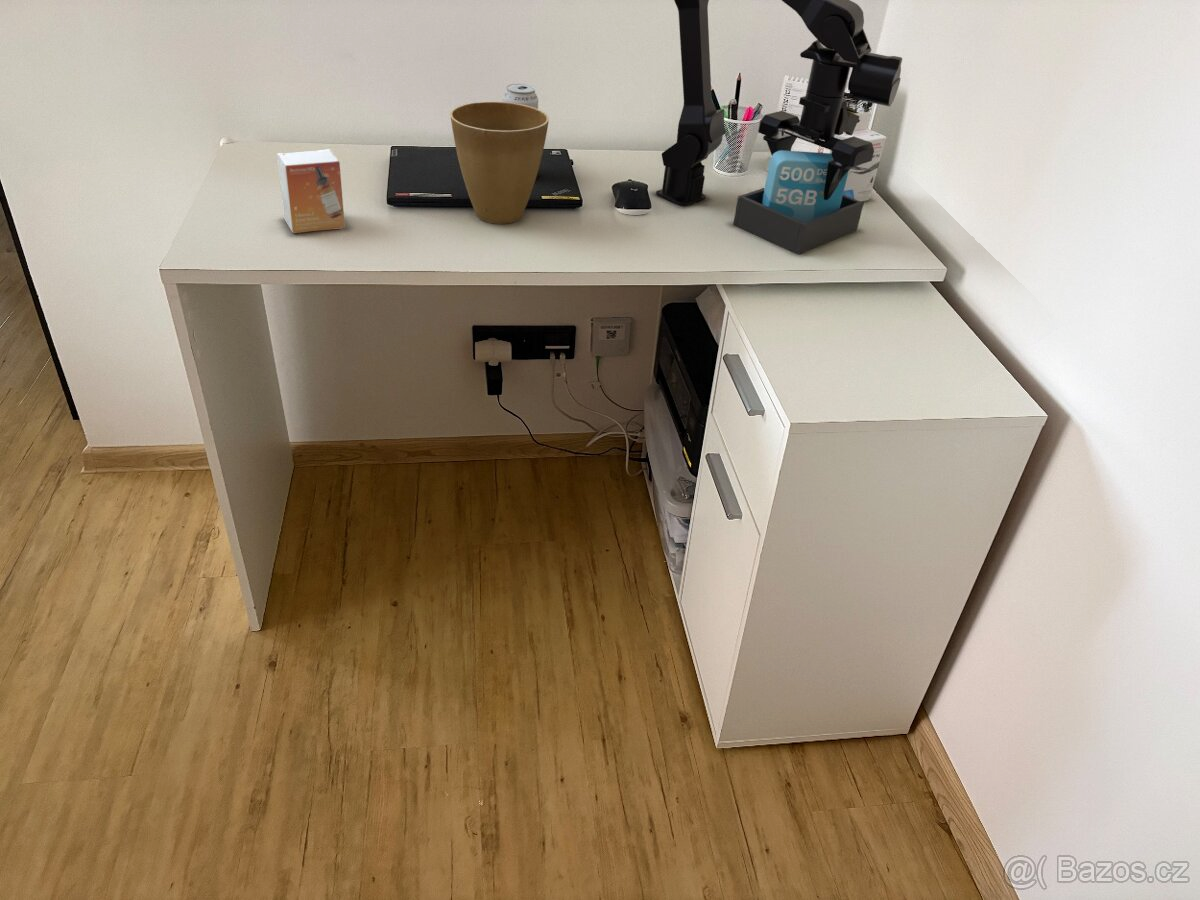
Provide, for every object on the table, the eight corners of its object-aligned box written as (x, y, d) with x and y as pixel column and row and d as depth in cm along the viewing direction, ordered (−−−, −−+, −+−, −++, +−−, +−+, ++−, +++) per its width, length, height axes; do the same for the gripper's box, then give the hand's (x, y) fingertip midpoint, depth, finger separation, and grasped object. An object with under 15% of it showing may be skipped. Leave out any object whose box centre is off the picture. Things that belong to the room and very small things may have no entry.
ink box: (837, 207, 163) (858, 124, 154) (818, 197, 167) (837, 115, 158) (870, 200, 167) (892, 118, 159) (851, 190, 171) (871, 110, 162)
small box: (292, 235, 136) (283, 165, 130) (284, 220, 140) (275, 152, 134) (346, 228, 140) (340, 160, 133) (336, 214, 143) (330, 147, 137)
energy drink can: (494, 174, 162) (495, 87, 153) (514, 166, 166) (516, 80, 157) (522, 183, 160) (525, 95, 151) (541, 174, 164) (545, 88, 155)
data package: (763, 230, 152) (777, 159, 145) (758, 219, 155) (771, 149, 148) (833, 234, 153) (851, 163, 146) (826, 223, 157) (843, 153, 149)
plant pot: (560, 212, 151) (566, 114, 142) (512, 242, 141) (515, 138, 131) (485, 189, 156) (486, 93, 147) (433, 217, 146) (430, 115, 136)
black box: (732, 224, 153) (738, 196, 150) (792, 204, 163) (798, 176, 160) (798, 254, 146) (804, 224, 143) (856, 230, 155) (864, 202, 152)
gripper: (905, 101, 141) (878, 199, 150) (807, 70, 151) (787, 163, 160) (865, 112, 134) (839, 213, 143) (765, 79, 144) (747, 175, 154)
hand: (803, 190), depth 150 cm, fingers open, 9 cm apart
